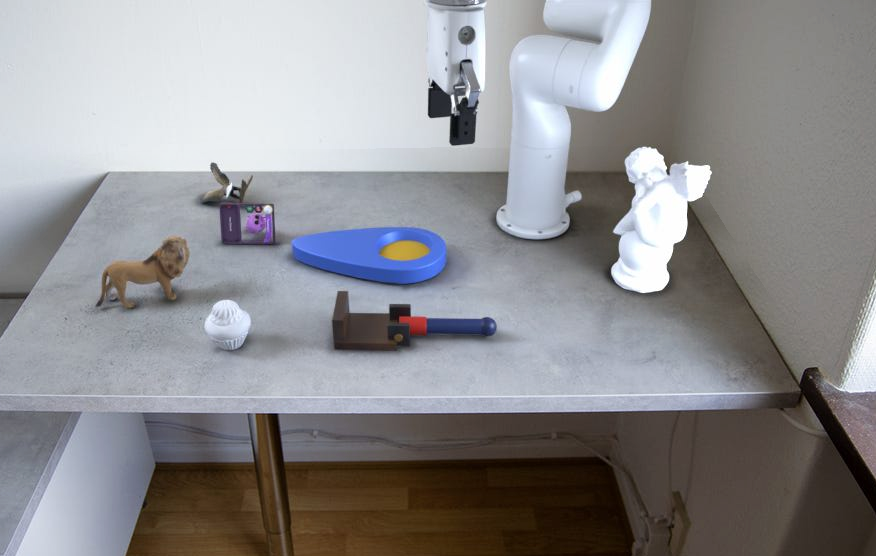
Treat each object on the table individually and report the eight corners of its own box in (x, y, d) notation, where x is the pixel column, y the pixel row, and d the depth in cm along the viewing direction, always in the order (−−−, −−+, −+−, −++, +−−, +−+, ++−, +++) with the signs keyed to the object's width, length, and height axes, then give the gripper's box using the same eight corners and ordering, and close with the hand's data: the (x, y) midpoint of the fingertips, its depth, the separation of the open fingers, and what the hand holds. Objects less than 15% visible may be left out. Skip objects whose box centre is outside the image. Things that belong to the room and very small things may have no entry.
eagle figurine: (258, 186, 143) (215, 171, 145) (249, 166, 136) (204, 151, 138) (240, 221, 141) (196, 206, 142) (230, 202, 134) (184, 187, 135)
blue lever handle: (495, 328, 109) (496, 313, 107) (496, 340, 106) (497, 324, 105) (400, 327, 109) (399, 312, 107) (399, 339, 107) (398, 323, 105)
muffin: (204, 336, 108) (196, 295, 104) (247, 325, 110) (241, 285, 106) (213, 362, 103) (205, 320, 99) (258, 350, 105) (252, 308, 101)
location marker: (282, 278, 120) (440, 288, 117) (279, 259, 118) (440, 269, 115) (305, 236, 131) (451, 244, 127) (303, 218, 129) (451, 226, 125)
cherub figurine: (598, 263, 123) (618, 133, 110) (668, 252, 126) (696, 124, 113) (634, 305, 113) (661, 168, 101) (709, 293, 116) (744, 158, 103)
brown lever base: (411, 320, 111) (410, 291, 108) (409, 350, 105) (409, 321, 102) (339, 319, 111) (337, 290, 108) (334, 349, 105) (331, 320, 102)
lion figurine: (192, 277, 120) (182, 226, 115) (200, 294, 116) (190, 243, 111) (94, 301, 115) (78, 249, 110) (98, 319, 111) (83, 267, 106)
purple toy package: (217, 203, 126) (272, 204, 126) (226, 199, 131) (279, 200, 131) (220, 244, 128) (274, 245, 127) (228, 238, 133) (280, 239, 132)
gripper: (511, 6, 84) (500, 152, 94) (462, -26, 98) (457, 105, 108) (446, 9, 83) (441, 158, 92) (405, -23, 96) (405, 109, 106)
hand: (450, 129), depth 100 cm, fingers open, 9 cm apart
